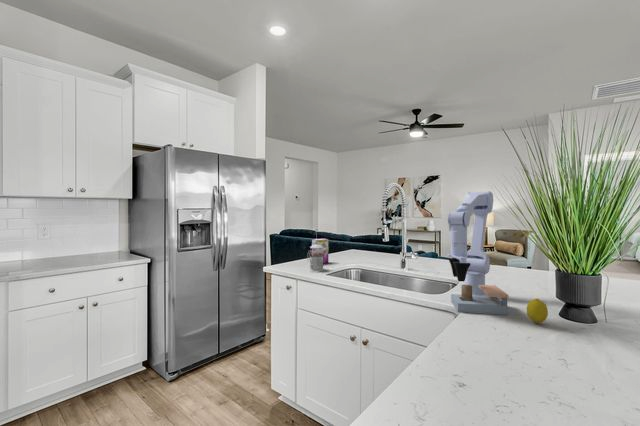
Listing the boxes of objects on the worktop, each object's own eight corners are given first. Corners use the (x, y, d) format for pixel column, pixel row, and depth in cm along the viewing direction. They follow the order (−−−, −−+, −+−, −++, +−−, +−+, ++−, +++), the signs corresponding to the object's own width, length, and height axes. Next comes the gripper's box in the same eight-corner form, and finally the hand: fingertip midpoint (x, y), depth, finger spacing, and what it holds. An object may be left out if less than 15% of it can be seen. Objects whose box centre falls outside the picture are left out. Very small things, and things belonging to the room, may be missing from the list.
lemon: (551, 327, 95) (551, 301, 95) (531, 326, 96) (531, 300, 96) (542, 321, 100) (542, 296, 100) (523, 319, 102) (523, 295, 101)
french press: (328, 269, 187) (327, 228, 186) (314, 272, 179) (313, 229, 178) (317, 267, 194) (316, 227, 193) (302, 270, 186) (302, 228, 185)
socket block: (451, 301, 122) (451, 283, 122) (495, 303, 119) (495, 285, 119) (458, 312, 109) (458, 292, 109) (508, 315, 106) (508, 294, 106)
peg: (460, 305, 117) (460, 284, 117) (471, 306, 116) (471, 284, 116) (462, 308, 114) (462, 286, 113) (473, 309, 113) (473, 287, 112)
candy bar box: (316, 265, 202) (316, 240, 202) (311, 264, 206) (311, 239, 206) (329, 263, 210) (328, 238, 209) (324, 262, 214) (324, 238, 213)
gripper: (443, 241, 126) (444, 274, 126) (451, 245, 111) (451, 282, 112) (462, 241, 124) (462, 275, 124) (472, 245, 110) (472, 283, 110)
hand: (458, 278), depth 118 cm, fingers open, 7 cm apart
